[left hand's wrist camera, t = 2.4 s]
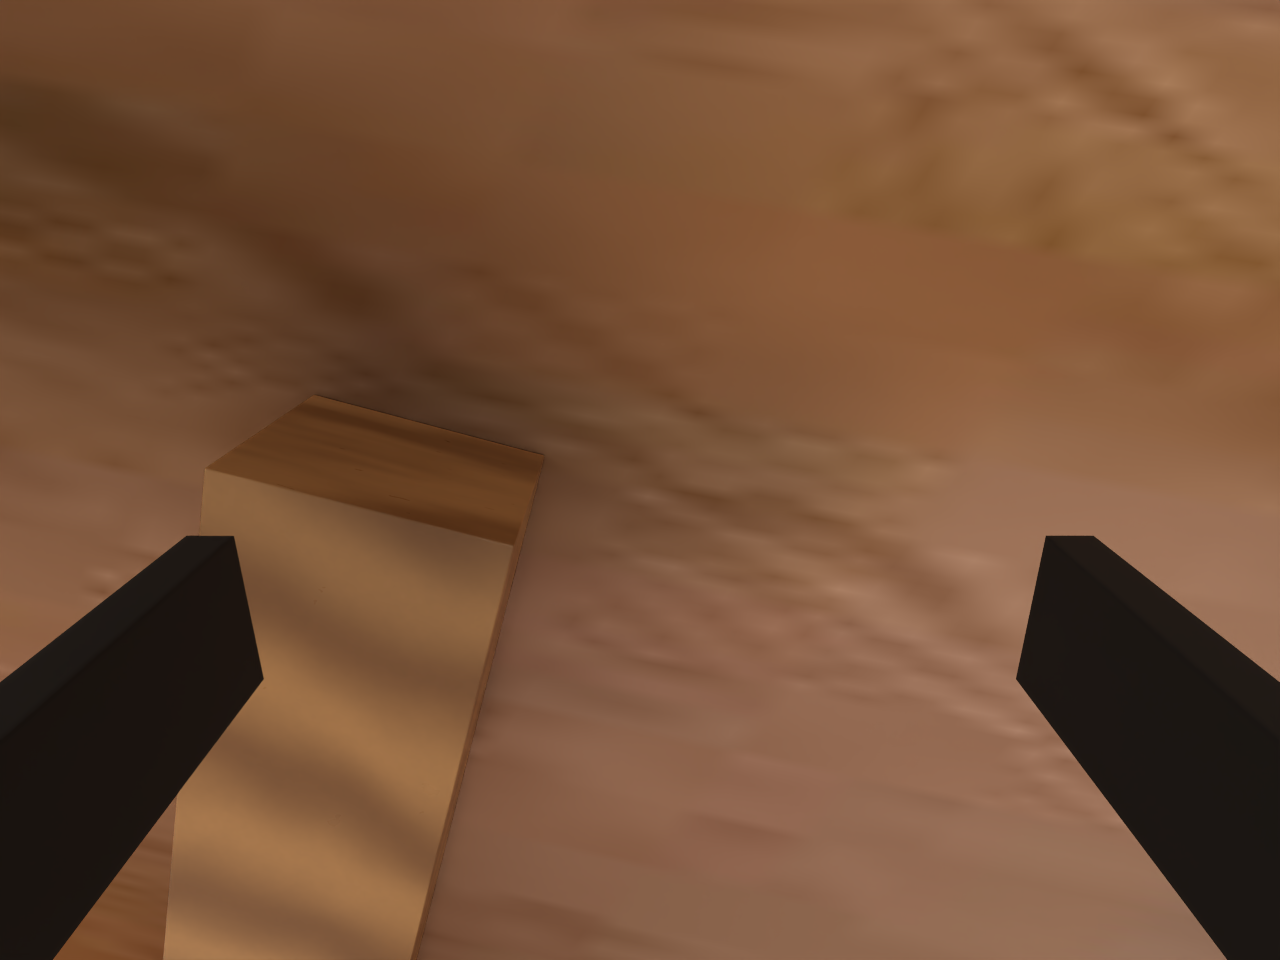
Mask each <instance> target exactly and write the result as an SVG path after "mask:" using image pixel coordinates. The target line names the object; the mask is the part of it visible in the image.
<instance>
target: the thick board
mask: <svg viewBox="0 0 1280 960" xmlns="http://www.w3.org/2000/svg"><path fill="white" fill-rule="evenodd" d="M543 461H544V455H540V454H536V453H533V452H529V451H525V450H521V449H518V448H514V447H510V446H506V445H502V444H499V443H495V442H491V441H487V440H483V439H480V438H476V437H472V436H468V435H465V434H461V433H457V432H453V431H449V430H446V429H442V428H438V427H434V426H430V425H427V424H423V423H419V422H415V421H412V420H408V419H404V418H400V417H396V416H393V415H389V414H385V413H381V412H378V411H374V410H370V409H366V408H362V407H359V406H355V405H351V404H347V403H343V402H340V401H336V400H332V399H328V398H325V397H321V396H317V395H313V396H312V397H310V398H309V399H307V400H306V401H304V402H303V403H301V404H300V405H298V406H297V407H295V408H294V409H292V410H291V411H289V412H288V413H286V414H285V415H283V416H282V417H280V418H279V419H277V420H276V421H275V422H273V423H272V424H270V425H269V426H267V427H266V428H264V429H263V430H261V431H260V432H258V433H257V434H255V435H254V436H252V437H251V438H249V439H248V440H246V441H245V442H243V443H242V444H240V445H239V446H237V447H236V448H234V449H233V450H232V451H230V452H229V453H227V454H226V455H224V456H223V457H221V458H220V459H218V460H217V461H215V462H214V463H212V464H211V465H209V466H208V467H206V468H205V471H204V483H203V494H202V506H201V518H200V530H199V536H234V538H235V543H236V548H237V552H238V557H239V562H240V567H241V572H242V576H243V581H244V586H245V591H246V596H247V600H248V605H249V610H250V615H251V619H252V624H253V629H254V634H255V639H256V643H257V648H258V653H259V658H260V662H261V667H262V672H263V677H264V680H263V681H262V682H261V684H260V685H259V686H258V688H257V689H256V690H255V692H254V693H253V694H252V696H251V697H250V698H249V700H248V701H247V702H246V704H245V705H244V706H243V707H242V709H241V710H240V711H239V713H238V714H237V715H236V717H235V718H234V719H233V721H232V722H231V723H230V725H229V726H228V727H227V729H226V730H225V731H224V733H223V734H222V735H221V737H220V738H219V739H218V741H217V742H216V743H215V745H214V746H213V747H212V749H211V750H210V751H209V753H208V754H207V755H206V757H205V758H204V759H203V761H202V762H201V763H200V765H199V766H198V767H197V769H196V770H195V771H194V773H193V774H192V775H191V777H190V778H189V779H188V781H187V782H186V783H185V785H184V786H183V787H182V789H181V790H180V791H179V793H178V794H177V802H176V814H175V825H174V837H173V849H172V861H171V873H170V884H169V896H168V908H167V920H166V932H165V944H164V955H163V960H417V956H418V953H419V949H420V945H421V941H422V937H423V933H424V929H425V925H426V921H427V917H428V913H429V909H430V905H431V901H432V897H433V893H434V890H435V886H436V882H437V878H438V874H439V870H440V866H441V862H442V858H443V854H444V850H445V846H446V842H447V838H448V834H449V831H450V827H451V823H452V819H453V815H454V811H455V807H456V803H457V799H458V795H459V791H460V787H461V783H462V779H463V775H464V772H465V768H466V764H467V760H468V756H469V752H470V748H471V744H472V740H473V736H474V732H475V728H476V724H477V720H478V716H479V713H480V709H481V705H482V701H483V697H484V693H485V689H486V685H487V681H488V677H489V673H490V669H491V665H492V661H493V657H494V654H495V650H496V646H497V642H498V638H499V634H500V630H501V626H502V622H503V618H504V614H505V610H506V606H507V602H508V598H509V595H510V591H511V587H512V583H513V579H514V575H515V571H516V567H517V563H518V559H519V555H520V551H521V547H522V543H523V539H524V536H525V532H526V528H527V524H528V520H529V516H530V512H531V508H532V504H533V500H534V496H535V492H536V488H537V484H538V480H539V477H540V473H541V469H542V465H543Z"/></svg>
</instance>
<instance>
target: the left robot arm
mask: <svg viewBox="0 0 1280 960" xmlns="http://www.w3.org/2000/svg"><path fill="white" fill-rule="evenodd" d="M263 680H264V677H263V672H262V667H261V662H260V658H259V653H258V648H257V643H256V639H255V634H254V629H253V624H252V619H251V615H250V610H249V605H248V600H247V596H246V591H245V586H244V581H243V576H242V572H241V567H240V562H239V557H238V552H237V548H236V543H235V538H234V536H186V537H185V538H183V539H182V540H181V541H179V542H178V543H177V544H176V545H174V546H173V547H172V548H171V549H169V550H168V551H167V552H165V553H164V554H163V555H162V556H160V557H159V558H158V559H157V560H155V561H154V562H153V563H151V564H150V565H149V566H148V567H146V568H145V569H144V570H143V571H141V572H140V573H139V574H137V575H136V576H135V577H134V578H132V579H131V580H130V581H129V582H127V583H126V584H125V585H123V586H122V587H121V588H120V589H118V590H117V591H116V592H115V593H113V594H112V595H111V596H109V597H108V598H107V599H106V600H104V601H103V602H102V603H101V604H99V605H98V606H97V607H95V608H94V609H93V610H92V611H90V612H89V613H88V614H87V615H85V616H84V617H83V618H81V619H80V620H79V621H78V622H76V623H75V624H74V625H73V626H71V627H70V628H69V629H67V630H66V631H65V632H64V633H62V634H61V635H60V636H59V637H57V638H56V639H55V640H53V641H52V642H51V643H50V644H48V645H47V646H46V647H45V648H43V649H42V650H41V651H39V652H38V653H37V654H36V655H34V656H33V657H32V658H31V659H29V660H28V661H27V662H26V663H24V664H23V665H22V666H20V667H19V668H18V669H17V670H15V671H14V672H13V673H12V674H10V675H9V676H8V677H6V678H5V679H4V680H3V681H1V682H0V960H53V959H54V957H55V956H56V955H57V953H58V952H59V951H60V949H61V948H62V947H63V945H64V944H65V943H66V941H67V940H68V939H69V937H70V936H71V935H72V933H73V932H74V931H75V929H76V928H77V927H78V925H79V924H80V923H81V921H82V920H83V919H84V917H85V916H86V915H87V913H88V912H89V911H90V909H91V908H92V907H93V905H94V904H95V903H96V901H97V900H98V899H99V897H100V896H101V895H102V893H103V892H104V891H105V890H106V888H107V887H108V886H109V884H110V883H111V882H112V880H113V879H114V878H115V876H116V875H117V874H118V872H119V871H120V870H121V868H122V867H123V866H124V864H125V863H126V862H127V860H128V859H129V858H130V856H131V855H132V854H133V852H134V851H135V850H136V848H137V847H138V846H139V844H140V843H141V842H142V840H143V839H144V838H145V836H146V835H147V834H148V832H149V831H150V830H151V828H152V827H153V826H154V824H155V823H156V822H157V820H158V819H159V818H160V816H161V815H162V814H163V812H164V811H165V810H166V808H167V807H168V806H169V804H170V803H171V802H172V800H173V799H174V798H175V797H176V795H177V794H178V793H179V791H180V790H181V789H182V787H183V786H184V785H185V783H186V782H187V781H188V779H189V778H190V777H191V775H192V774H193V773H194V771H195V770H196V769H197V767H198V766H199V765H200V763H201V762H202V761H203V759H204V758H205V757H206V755H207V754H208V753H209V751H210V750H211V749H212V747H213V746H214V745H215V743H216V742H217V741H218V739H219V738H220V737H221V735H222V734H223V733H224V731H225V730H226V729H227V727H228V726H229V725H230V723H231V722H232V721H233V719H234V718H235V717H236V715H237V714H238V713H239V711H240V710H241V709H242V707H243V706H244V705H245V704H246V702H247V701H248V700H249V698H250V697H251V696H252V694H253V693H254V692H255V690H256V689H257V688H258V686H259V685H260V684H261V682H262V681H263ZM1016 680H1017V681H1018V682H1019V684H1020V685H1021V686H1022V688H1023V689H1024V690H1025V692H1026V693H1027V694H1028V696H1029V697H1030V698H1031V700H1032V701H1033V702H1034V704H1035V705H1036V706H1037V708H1038V709H1039V710H1040V711H1041V713H1042V714H1043V715H1044V717H1045V718H1046V719H1047V721H1048V722H1049V723H1050V725H1051V726H1052V727H1053V729H1054V730H1055V731H1056V733H1057V734H1058V735H1059V737H1060V738H1061V739H1062V741H1063V742H1064V743H1065V745H1066V746H1067V747H1068V749H1069V750H1070V751H1071V753H1072V754H1073V755H1074V757H1075V758H1076V759H1077V761H1078V762H1079V763H1080V765H1081V766H1082V767H1083V769H1084V770H1085V771H1086V773H1087V774H1088V775H1089V777H1090V778H1091V779H1092V781H1093V782H1094V783H1095V785H1096V786H1097V787H1098V789H1099V790H1100V791H1101V793H1102V794H1103V795H1104V797H1105V798H1106V799H1107V800H1108V802H1109V803H1110V804H1111V806H1112V807H1113V808H1114V810H1115V811H1116V812H1117V814H1118V815H1119V816H1120V818H1121V819H1122V820H1123V822H1124V823H1125V824H1126V826H1127V827H1128V828H1129V830H1130V831H1131V832H1132V834H1133V835H1134V836H1135V838H1136V839H1137V840H1138V842H1139V843H1140V844H1141V846H1142V847H1143V848H1144V850H1145V851H1146V852H1147V854H1148V855H1149V856H1150V858H1151V859H1152V860H1153V862H1154V863H1155V864H1156V866H1157V867H1158V868H1159V870H1160V871H1161V872H1162V874H1163V875H1164V876H1165V878H1166V879H1167V880H1168V882H1169V883H1170V884H1171V886H1172V887H1173V888H1174V890H1175V891H1176V892H1177V893H1178V895H1179V896H1180V897H1181V899H1182V900H1183V901H1184V903H1185V904H1186V905H1187V907H1188V908H1189V909H1190V911H1191V912H1192V913H1193V915H1194V916H1195V917H1196V919H1197V920H1198V921H1199V923H1200V924H1201V925H1202V927H1203V928H1204V929H1205V931H1206V932H1207V933H1208V935H1209V936H1210V937H1211V939H1212V940H1213V941H1214V943H1215V944H1216V945H1217V947H1218V948H1219V949H1220V951H1221V952H1222V953H1223V955H1224V956H1225V957H1226V959H1227V960H1280V682H1279V681H1277V680H1276V679H1275V678H1274V677H1272V676H1271V675H1270V674H1268V673H1267V672H1266V671H1265V670H1263V669H1262V668H1261V667H1260V666H1258V665H1257V664H1256V663H1254V662H1253V661H1252V660H1251V659H1249V658H1248V657H1247V656H1246V655H1244V654H1243V653H1242V652H1241V651H1239V650H1238V649H1237V648H1235V647H1234V646H1233V645H1232V644H1230V643H1229V642H1228V641H1227V640H1225V639H1224V638H1223V637H1221V636H1220V635H1219V634H1218V633H1216V632H1215V631H1214V630H1213V629H1211V628H1210V627H1209V626H1207V625H1206V624H1205V623H1204V622H1202V621H1201V620H1200V619H1199V618H1197V617H1196V616H1195V615H1193V614H1192V613H1191V612H1190V611H1188V610H1187V609H1186V608H1185V607H1183V606H1182V605H1181V604H1179V603H1178V602H1177V601H1176V600H1174V599H1173V598H1172V597H1171V596H1169V595H1168V594H1167V593H1165V592H1164V591H1163V590H1162V589H1160V588H1159V587H1158V586H1157V585H1155V584H1154V583H1153V582H1151V581H1150V580H1149V579H1148V578H1146V577H1145V576H1144V575H1143V574H1141V573H1140V572H1139V571H1137V570H1136V569H1135V568H1134V567H1132V566H1131V565H1130V564H1129V563H1127V562H1126V561H1125V560H1123V559H1122V558H1121V557H1120V556H1118V555H1117V554H1116V553H1115V552H1113V551H1112V550H1111V549H1109V548H1108V547H1107V546H1106V545H1104V544H1103V543H1102V542H1101V541H1099V540H1098V539H1097V538H1095V537H1094V536H1046V538H1045V543H1044V548H1043V552H1042V557H1041V562H1040V567H1039V572H1038V576H1037V581H1036V586H1035V591H1034V596H1033V600H1032V605H1031V610H1030V615H1029V619H1028V624H1027V629H1026V634H1025V639H1024V643H1023V648H1022V653H1021V658H1020V662H1019V667H1018V672H1017V677H1016Z"/></svg>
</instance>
